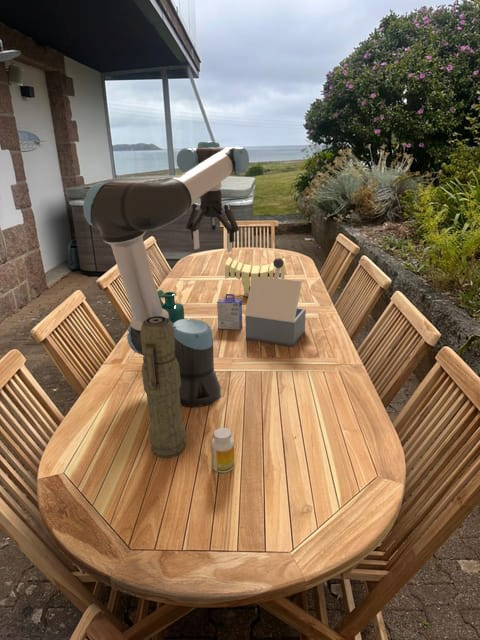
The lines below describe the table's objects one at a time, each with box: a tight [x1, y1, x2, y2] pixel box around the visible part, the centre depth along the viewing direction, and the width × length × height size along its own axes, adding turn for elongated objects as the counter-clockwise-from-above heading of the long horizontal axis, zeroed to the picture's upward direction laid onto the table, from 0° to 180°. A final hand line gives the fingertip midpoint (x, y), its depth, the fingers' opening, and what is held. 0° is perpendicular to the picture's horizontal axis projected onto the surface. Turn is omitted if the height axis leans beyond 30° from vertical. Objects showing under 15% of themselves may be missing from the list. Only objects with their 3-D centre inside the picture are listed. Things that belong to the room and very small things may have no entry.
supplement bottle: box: [210, 427, 235, 474], centre depth 99 cm, size 5×5×10 cm
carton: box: [244, 307, 307, 348], centre depth 170 cm, size 16×20×10 cm
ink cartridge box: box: [216, 293, 243, 331], centre depth 178 cm, size 10×6×14 cm, turn 78°
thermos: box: [140, 316, 186, 459], centre depth 101 cm, size 9×12×35 cm
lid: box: [244, 257, 303, 323], centre depth 161 cm, size 24×20×4 cm
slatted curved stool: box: [224, 256, 286, 297], centre depth 220 cm, size 30×16×18 cm, turn 84°
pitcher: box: [157, 289, 185, 323], centre depth 160 cm, size 10×8×22 cm
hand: (213, 250), depth 154 cm, fingers open, 13 cm apart
